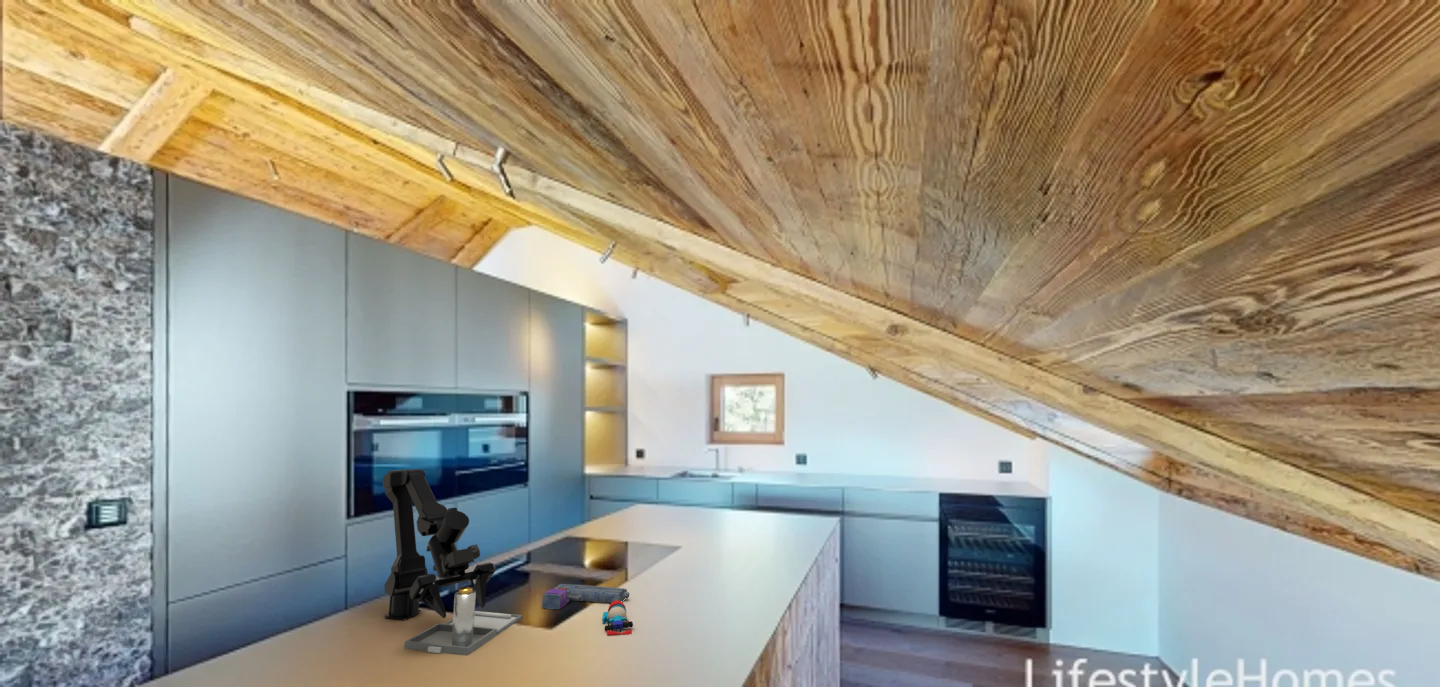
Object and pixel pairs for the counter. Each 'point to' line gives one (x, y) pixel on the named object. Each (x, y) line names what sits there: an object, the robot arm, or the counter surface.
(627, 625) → the toy figure
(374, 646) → the counter surface
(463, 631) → the grey cylinder
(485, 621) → the lid
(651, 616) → the counter surface
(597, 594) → the toy gun
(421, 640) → the case
